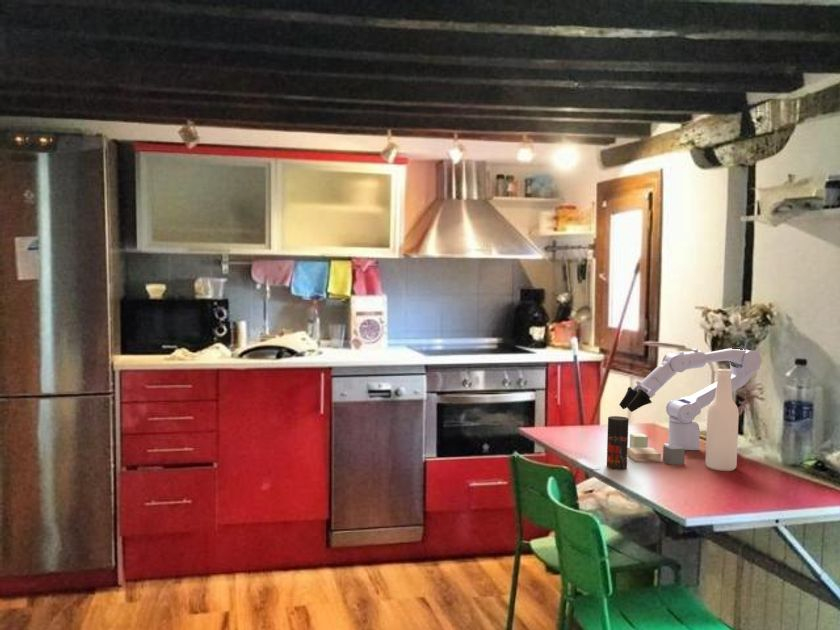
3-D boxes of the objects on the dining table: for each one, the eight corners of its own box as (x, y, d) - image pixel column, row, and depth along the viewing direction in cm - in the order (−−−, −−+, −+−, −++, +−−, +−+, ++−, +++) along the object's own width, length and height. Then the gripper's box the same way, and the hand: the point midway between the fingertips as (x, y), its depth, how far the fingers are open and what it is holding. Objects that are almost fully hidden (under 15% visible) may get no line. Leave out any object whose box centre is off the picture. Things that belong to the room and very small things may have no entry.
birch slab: (651, 455, 246) (651, 447, 245) (660, 461, 238) (660, 453, 237) (627, 454, 245) (627, 447, 245) (635, 461, 237) (635, 453, 237)
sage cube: (642, 448, 255) (643, 433, 255) (647, 451, 250) (647, 436, 250) (629, 448, 255) (630, 433, 254) (633, 451, 250) (634, 436, 250)
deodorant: (604, 464, 233) (605, 416, 232) (623, 464, 233) (625, 416, 232) (609, 469, 227) (610, 420, 226) (629, 470, 227) (630, 420, 226)
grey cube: (675, 460, 239) (675, 445, 239) (684, 464, 235) (684, 448, 235) (662, 461, 238) (663, 445, 237) (671, 465, 233) (672, 449, 233)
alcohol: (699, 466, 233) (702, 368, 231) (716, 462, 237) (720, 366, 235) (724, 473, 225) (728, 372, 223) (742, 468, 230) (746, 370, 228)
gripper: (639, 370, 260) (610, 397, 260) (655, 373, 246) (624, 401, 245) (652, 385, 261) (623, 412, 260) (669, 389, 246) (639, 417, 245)
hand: (625, 408), depth 252 cm, fingers open, 7 cm apart
